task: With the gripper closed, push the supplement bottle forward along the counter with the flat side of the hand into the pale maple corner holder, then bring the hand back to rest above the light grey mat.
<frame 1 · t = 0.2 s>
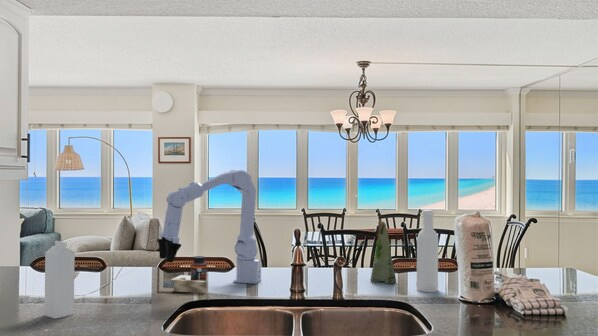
hand: (166, 260, 191), 10 cm above the kitchen counter, tool pointing down, fingers open, 7 cm apart
corner holder: (192, 290, 189), on the kitchen counter
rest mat: (186, 278, 208), on the kitchen counter
bottle: (427, 290, 195), on the kitchen counter
supplement bottle: (198, 287, 194), on the kitchen counter
pouch: (382, 282, 208), on the kitchen counter
milk: (59, 315, 155), on the kitchen counter
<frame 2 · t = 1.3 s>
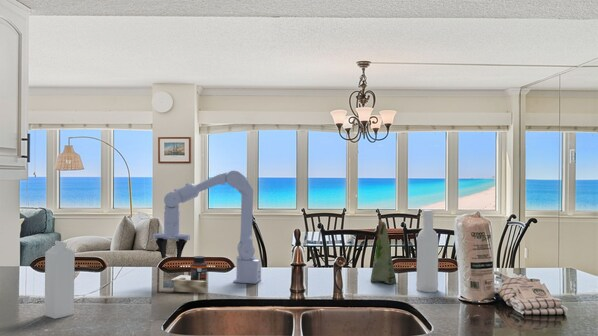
hand: (171, 258, 201), 9 cm above the kitchen counter, tool pointing down, fingers open, 6 cm apart
nothing on the kitchen counter moved.
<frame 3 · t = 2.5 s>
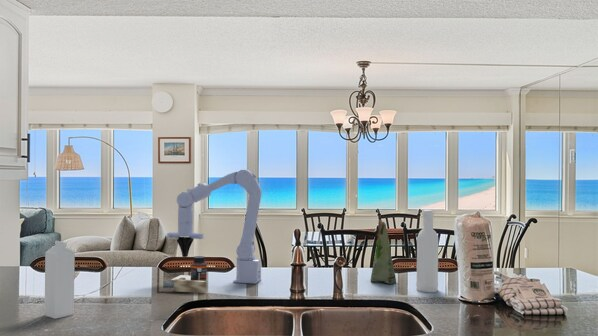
hand: (185, 256, 206), 9 cm above the kitchen counter, tool pointing down, fingers closed
nothing on the kitchen counter moved.
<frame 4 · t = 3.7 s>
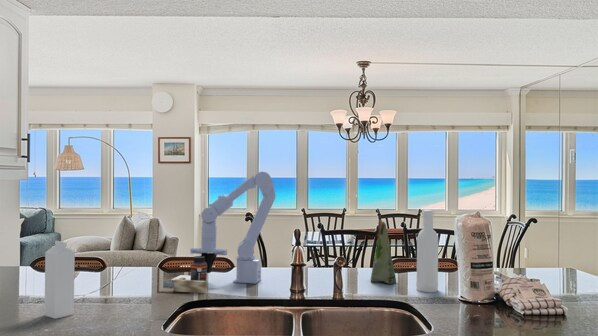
hand: (208, 272, 204), 3 cm above the kitchen counter, tool pointing down, fingers closed
nothing on the kitchen counter moved.
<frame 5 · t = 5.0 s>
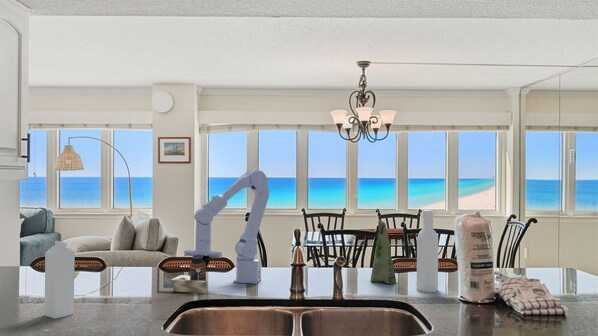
hand: (202, 275, 198), 3 cm above the kitchen counter, tool pointing down, fingers closed, pressing on supplement bottle
supplement bottle: (198, 286, 194), on the kitchen counter, touching gripper
everything else where it was.
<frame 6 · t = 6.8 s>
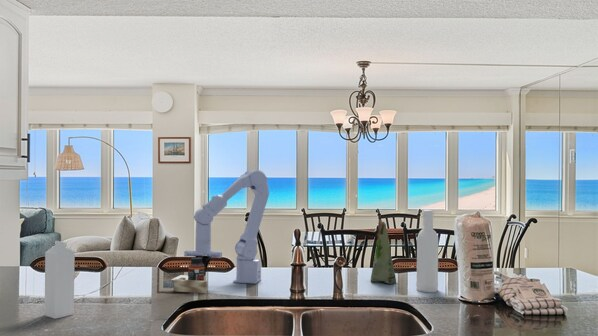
hand: (202, 275, 198), 3 cm above the kitchen counter, tool pointing down, fingers closed
supplement bottle: (196, 289, 192), on the kitchen counter
everything else where it was.
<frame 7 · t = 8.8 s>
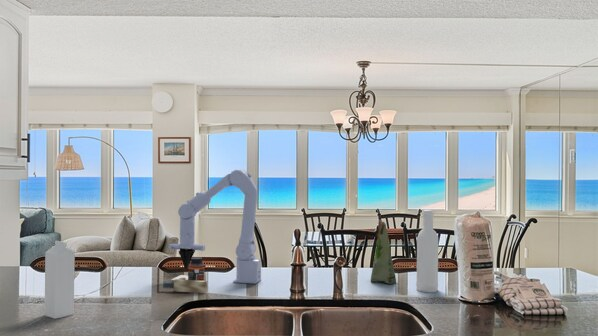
hand: (186, 267, 208), 4 cm above the kitchen counter, tool pointing down, fingers closed
nothing on the kitchen counter moved.
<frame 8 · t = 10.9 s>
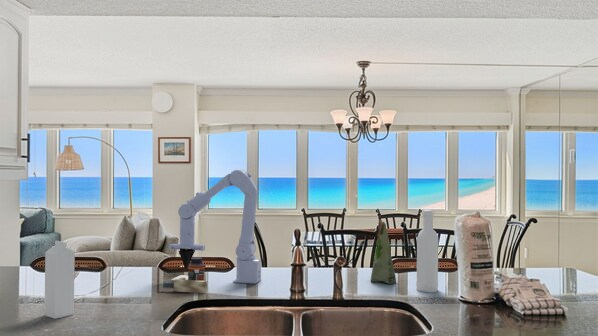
hand: (186, 267, 208), 4 cm above the kitchen counter, tool pointing down, fingers closed
nothing on the kitchen counter moved.
at the end: supplement bottle 1.8 cm from the target spot, on the kitchen counter; supplement bottle tilted 0°; supplement bottle moved 2.5 cm from its start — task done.
